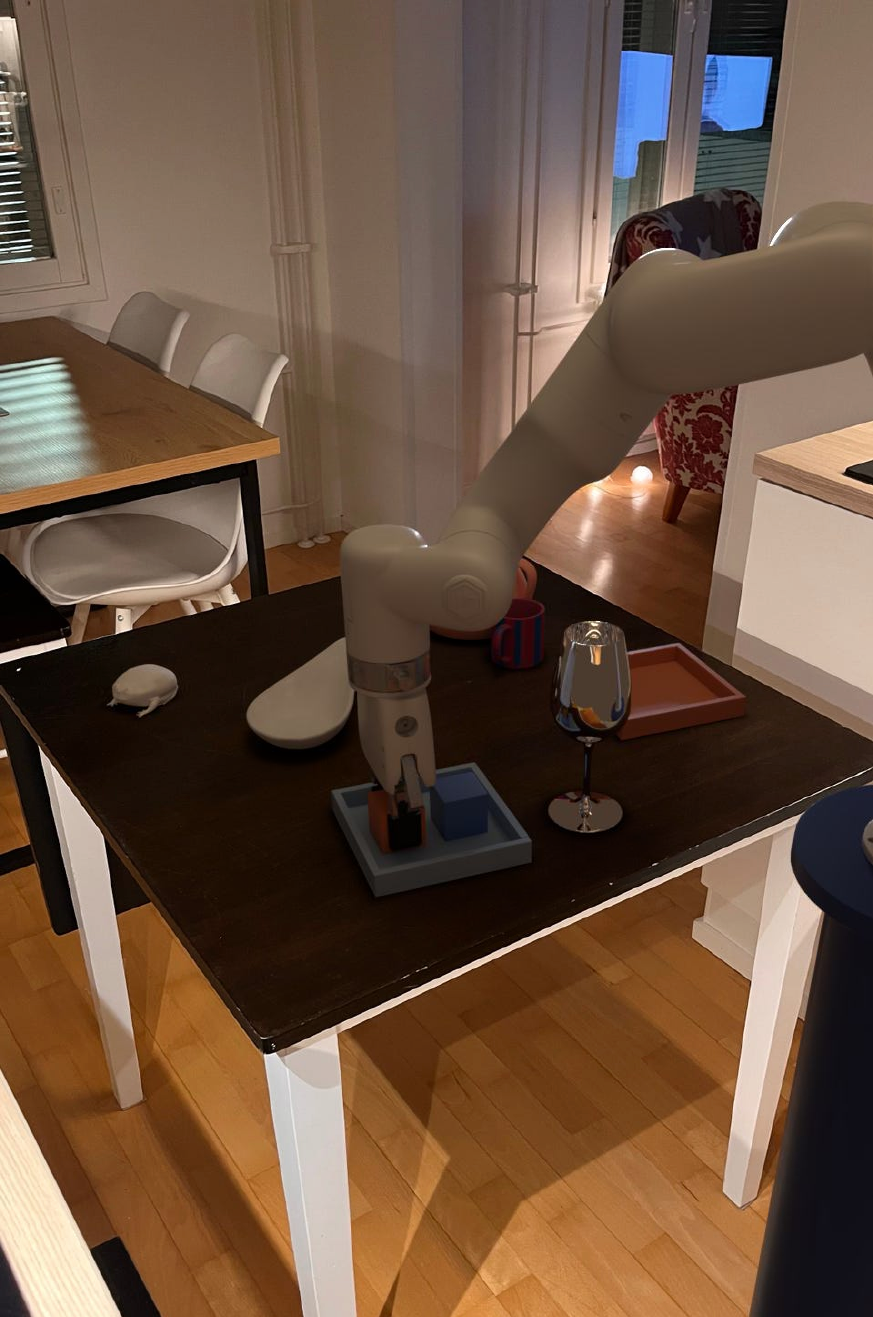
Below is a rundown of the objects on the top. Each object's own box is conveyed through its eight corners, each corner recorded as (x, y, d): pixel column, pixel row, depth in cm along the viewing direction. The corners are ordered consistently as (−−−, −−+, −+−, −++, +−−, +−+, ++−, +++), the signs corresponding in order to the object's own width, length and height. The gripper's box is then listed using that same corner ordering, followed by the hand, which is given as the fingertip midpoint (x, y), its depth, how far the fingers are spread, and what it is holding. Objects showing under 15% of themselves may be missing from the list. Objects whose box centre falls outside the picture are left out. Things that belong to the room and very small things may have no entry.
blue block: (488, 832, 117) (488, 794, 114) (445, 841, 116) (444, 803, 113) (472, 809, 120) (471, 771, 118) (430, 817, 119) (429, 780, 117)
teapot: (366, 629, 160) (361, 541, 153) (420, 588, 171) (417, 504, 165) (516, 658, 151) (517, 566, 144) (562, 613, 163) (565, 525, 156)
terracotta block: (426, 845, 115) (425, 806, 113) (382, 855, 114) (379, 816, 112) (412, 821, 119) (410, 783, 116) (369, 830, 118) (366, 792, 115)
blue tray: (531, 862, 113) (532, 841, 112) (375, 897, 109) (373, 875, 108) (474, 782, 126) (474, 761, 125) (332, 810, 122) (331, 790, 120)
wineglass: (534, 802, 122) (538, 624, 112) (601, 786, 124) (611, 610, 114) (567, 842, 116) (575, 657, 105) (638, 824, 118) (652, 642, 108)
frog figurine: (140, 720, 139) (135, 691, 137) (100, 706, 143) (95, 677, 141) (188, 693, 145) (184, 665, 143) (149, 680, 148) (144, 652, 146)
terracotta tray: (743, 715, 137) (746, 696, 135) (621, 740, 133) (622, 720, 131) (677, 660, 149) (679, 642, 148) (564, 681, 145) (565, 662, 144)
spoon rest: (317, 773, 128) (312, 715, 124) (229, 750, 133) (221, 693, 129) (420, 682, 146) (418, 629, 142) (338, 664, 151) (335, 612, 147)
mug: (552, 653, 152) (554, 604, 148) (513, 684, 145) (514, 633, 141) (507, 642, 155) (508, 593, 152) (467, 671, 148) (466, 621, 144)
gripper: (460, 698, 101) (462, 872, 110) (400, 622, 114) (407, 782, 124) (375, 714, 99) (385, 889, 108) (325, 634, 112) (338, 796, 122)
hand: (397, 830), depth 116 cm, fingers closed on terracotta block, 4 cm apart
